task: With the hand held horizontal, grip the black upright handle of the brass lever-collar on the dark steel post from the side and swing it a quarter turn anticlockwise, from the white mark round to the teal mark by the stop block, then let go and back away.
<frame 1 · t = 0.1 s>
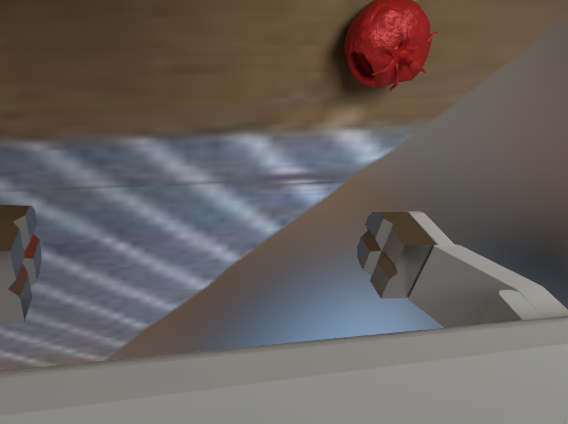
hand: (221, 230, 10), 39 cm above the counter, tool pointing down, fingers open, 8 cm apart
pomegranate: (374, 34, 49), on the counter
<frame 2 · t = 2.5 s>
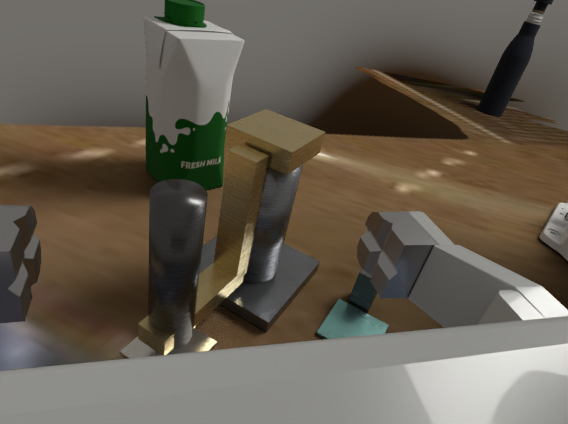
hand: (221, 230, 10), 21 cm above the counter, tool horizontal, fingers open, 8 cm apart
dark blue bottle: (488, 112, 110), on the counter
lever: (228, 225, 31), point 9 cm above the counter, hinge at 0.0°
milk carton: (184, 180, 52), on the counter
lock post: (249, 273, 39), on the counter
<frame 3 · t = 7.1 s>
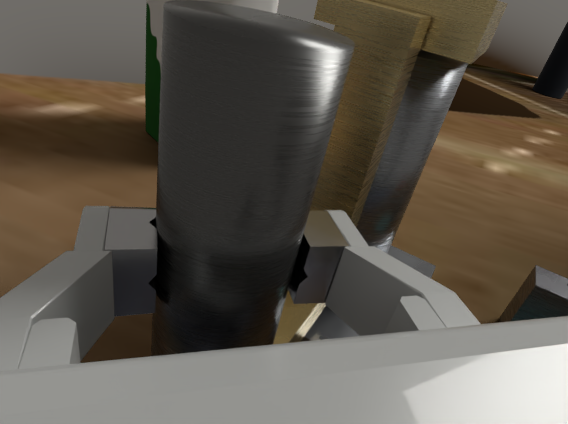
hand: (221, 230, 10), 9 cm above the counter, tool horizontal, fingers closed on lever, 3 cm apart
dark blue bottle: (546, 94, 94), on the counter
lever: (324, 185, 14), point 9 cm above the counter, hinge at 0.1°, touching gripper
milk carton: (201, 146, 35), on the counter
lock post: (323, 285, 23), on the counter
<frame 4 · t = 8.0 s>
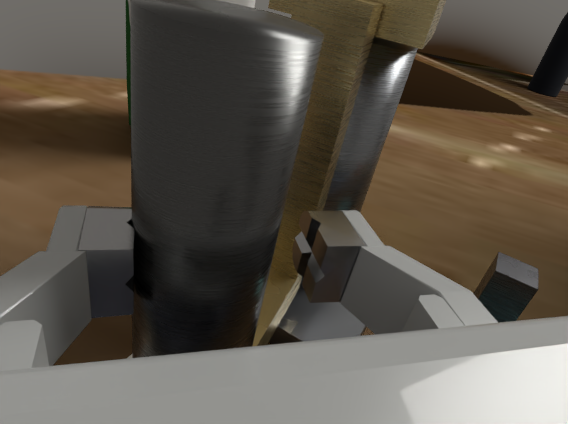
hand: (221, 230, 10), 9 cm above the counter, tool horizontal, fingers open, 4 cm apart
dark blue bottle: (541, 92, 94), on the counter
lever: (290, 173, 15), point 9 cm above the counter, hinge at 8.1°, touching gripper
milk carton: (184, 139, 36), on the counter
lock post: (292, 272, 23), on the counter
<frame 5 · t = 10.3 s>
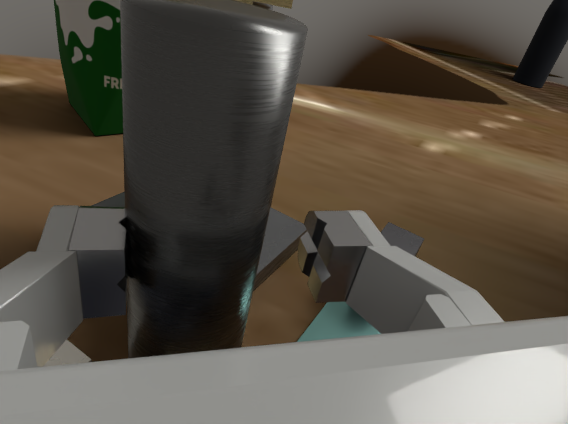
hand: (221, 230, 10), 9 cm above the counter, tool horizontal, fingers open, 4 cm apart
dark blue bottle: (526, 83, 93), on the counter
lever: (200, 146, 15), point 9 cm above the counter, hinge at 39.7°, touching gripper
milk carton: (123, 118, 36), on the counter
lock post: (190, 241, 24), on the counter
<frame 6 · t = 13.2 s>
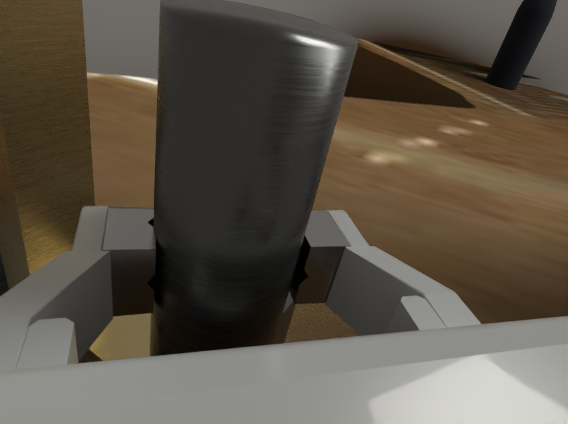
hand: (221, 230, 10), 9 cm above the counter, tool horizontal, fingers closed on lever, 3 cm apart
dark blue bottle: (499, 85, 88), on the counter
lever: (63, 171, 12), point 9 cm above the counter, hinge at 87.9°, touching gripper
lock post: (8, 295, 18), on the counter
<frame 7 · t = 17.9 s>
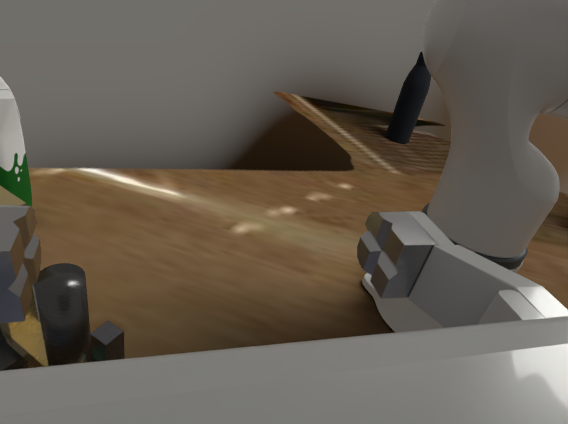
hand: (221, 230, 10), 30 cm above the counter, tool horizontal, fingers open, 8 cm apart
dark blue bottle: (396, 139, 111), on the counter
lever: (20, 293, 34), point 9 cm above the counter, hinge at 88.0°
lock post: (1, 330, 40), on the counter
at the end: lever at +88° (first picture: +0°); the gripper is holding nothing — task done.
